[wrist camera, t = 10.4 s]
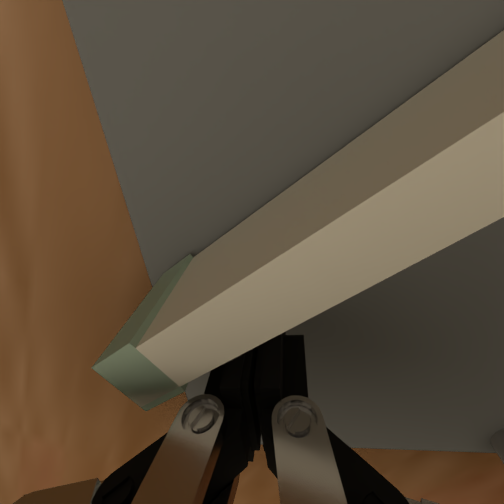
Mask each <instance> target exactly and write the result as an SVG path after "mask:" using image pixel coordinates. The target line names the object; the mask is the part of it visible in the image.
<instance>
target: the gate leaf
mask: <svg viewBox="0 0 504 504" xmlns="http://www.w3.org/2000/svg"><path fill="white" fill-rule="evenodd" d="M503 217H504V30H503V31H502V32H500V33H499V34H498V35H496V36H495V37H494V38H492V39H491V40H490V41H488V42H487V43H485V44H484V45H483V46H481V47H480V48H479V49H477V50H476V51H475V52H473V53H472V54H470V55H469V56H468V57H466V58H465V59H464V60H462V61H461V62H459V63H458V64H457V65H455V66H454V67H453V68H451V69H450V70H449V71H447V72H446V73H444V74H443V75H442V76H440V77H439V78H438V79H436V80H435V81H434V82H432V83H431V84H429V85H428V86H427V87H425V88H424V89H423V90H421V91H420V92H419V93H417V94H416V95H414V96H413V97H412V98H410V99H409V100H408V101H406V102H405V103H404V104H402V105H401V106H399V107H398V108H397V109H395V110H394V111H393V112H391V113H390V114H388V115H387V116H386V117H384V118H383V119H382V120H380V121H379V122H378V123H376V124H375V125H373V126H372V127H371V128H369V129H368V130H367V131H365V132H364V133H363V134H361V135H360V136H358V137H357V138H356V139H354V140H353V141H352V142H350V143H349V144H348V145H346V146H345V147H343V148H342V149H341V150H339V151H338V152H337V153H335V154H334V155H333V156H331V157H330V158H328V159H327V160H326V161H324V162H323V163H322V164H320V165H319V166H317V167H316V168H315V169H313V170H312V171H311V172H309V173H308V174H307V175H305V176H304V177H302V178H301V179H300V180H298V181H297V182H296V183H294V184H293V185H292V186H290V187H289V188H287V189H286V190H285V191H283V192H282V193H281V194H279V195H278V196H277V197H275V198H274V199H272V200H271V201H270V202H268V203H267V204H266V205H264V206H263V207H262V208H260V209H259V210H257V211H256V212H255V213H253V214H252V215H251V216H249V217H248V218H247V219H245V220H244V221H242V222H241V223H240V224H238V225H237V226H236V227H234V228H233V229H231V230H230V231H229V232H227V233H226V234H225V235H223V236H222V237H221V238H219V239H218V240H216V241H215V242H214V243H212V244H211V245H210V246H208V247H207V248H206V249H204V250H203V251H201V252H200V253H199V254H197V255H196V256H195V257H193V256H192V255H191V254H189V255H188V256H186V257H185V258H184V259H182V260H181V261H180V262H178V263H177V264H176V265H174V266H173V267H172V268H170V269H169V270H168V271H166V272H165V273H163V275H162V276H161V277H160V279H159V280H158V281H157V283H156V284H155V285H154V286H153V288H152V289H151V290H150V292H149V293H148V294H147V296H146V297H145V298H144V300H143V301H142V302H141V304H140V305H139V306H138V307H137V309H136V310H135V311H134V313H133V314H132V315H131V317H130V318H129V319H128V321H127V322H126V323H125V325H124V326H123V327H122V329H121V330H120V331H119V332H118V334H117V335H116V336H115V338H114V339H113V340H112V342H111V343H110V344H109V346H108V347H107V348H106V350H105V351H104V352H103V353H102V355H101V356H100V357H99V359H98V360H97V361H96V363H95V364H94V365H93V367H92V369H93V370H95V371H96V372H97V373H98V374H100V375H101V376H102V377H103V378H105V379H106V380H107V381H108V382H110V383H111V384H112V385H113V386H115V387H116V388H117V389H118V390H120V391H121V392H122V393H124V394H125V395H126V396H127V397H129V398H130V399H131V400H132V401H134V402H135V403H136V404H137V405H139V406H140V407H141V408H142V409H144V410H145V411H148V410H150V409H151V408H153V407H155V406H157V405H159V404H161V403H163V402H165V401H167V400H169V399H171V398H173V397H175V396H177V395H179V394H181V393H183V392H185V390H186V387H187V384H188V382H190V381H192V380H194V379H196V378H198V377H200V376H201V375H203V374H205V373H207V372H209V371H211V370H213V369H215V368H217V367H219V366H220V365H222V364H224V363H226V362H228V361H230V360H232V359H234V358H236V357H238V356H240V355H241V354H243V353H245V352H247V351H249V350H251V349H253V348H255V347H257V346H259V345H261V344H262V343H264V342H266V341H268V340H270V339H272V338H274V337H276V336H278V335H280V334H282V333H283V332H285V331H287V330H289V329H291V328H293V327H295V326H297V325H299V324H301V323H303V322H304V321H306V320H308V319H310V318H312V317H314V316H316V315H318V314H320V313H322V312H324V311H325V310H327V309H329V308H331V307H333V306H335V305H337V304H339V303H341V302H343V301H344V300H346V299H348V298H350V297H352V296H354V295H356V294H358V293H360V292H362V291H364V290H365V289H367V288H369V287H371V286H373V285H375V284H377V283H379V282H381V281H383V280H385V279H386V278H388V277H390V276H392V275H394V274H396V273H398V272H400V271H402V270H404V269H406V268H407V267H409V266H411V265H413V264H415V263H417V262H419V261H421V260H423V259H425V258H427V257H428V256H430V255H432V254H434V253H436V252H438V251H440V250H442V249H444V248H446V247H447V246H449V245H451V244H453V243H455V242H457V241H459V240H461V239H463V238H465V237H467V236H468V235H470V234H472V233H474V232H476V231H478V230H480V229H482V228H484V227H486V226H488V225H489V224H491V223H493V222H495V221H497V220H499V219H501V218H503Z"/></svg>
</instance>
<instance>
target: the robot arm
mask: <svg viewBox="0 0 504 504" xmlns="http://www.w3.org/2000/svg"><path fill="white" fill-rule="evenodd" d="M261 435H262V441H263V447H264V451H265V453H266V459H267V465H268V468H269V469H270V470H271V471H272V473H273V474H274V475H275V476H276V478H277V479H278V486H279V496H280V504H438V503H435V502H432V501H429V500H425V499H422V498H421V501H420V502H419V501H416V500H413V499H409V498H406V497H404V496H403V495H402V494H401V493H400V491H399V490H398V489H397V488H395V487H394V486H393V485H392V484H391V483H390V482H389V481H387V480H386V479H385V478H384V477H383V476H382V475H381V474H380V473H378V472H377V471H376V470H375V469H374V468H373V467H372V466H370V465H369V464H368V463H367V462H366V461H365V460H364V459H362V458H361V457H360V456H359V455H358V454H357V453H356V452H354V451H353V450H352V449H351V448H350V447H349V446H348V445H346V444H345V443H344V442H343V441H342V440H341V439H340V438H339V437H337V436H336V435H335V434H334V433H333V432H332V431H331V430H329V429H328V428H327V427H326V425H325V422H324V418H323V415H322V413H321V410H320V408H319V407H318V406H317V405H316V403H315V402H313V401H312V400H310V399H309V398H308V387H307V373H306V360H305V346H304V335H286V332H283V333H282V334H280V335H278V336H276V337H274V338H272V339H270V340H268V341H266V342H264V343H262V344H261V345H259V346H257V347H255V348H253V349H251V350H249V351H247V352H245V353H243V354H241V355H240V356H238V357H236V358H234V359H232V360H230V361H228V362H226V363H224V364H222V365H220V366H219V367H217V368H215V369H213V370H211V371H210V375H209V378H208V381H207V385H206V388H205V392H204V394H202V395H198V396H195V397H193V398H191V399H190V400H188V401H187V402H186V403H185V404H184V405H183V406H182V407H181V409H180V410H179V412H178V414H177V416H176V418H175V420H174V422H173V423H172V425H171V427H170V429H169V431H168V433H166V434H165V435H164V436H162V437H161V438H159V439H158V440H157V441H155V442H154V443H153V444H151V445H150V446H149V447H147V448H146V449H144V450H143V451H142V452H140V453H139V454H138V455H136V456H135V457H134V458H132V459H131V460H129V461H128V462H127V463H125V464H124V465H123V466H121V467H120V468H118V469H117V470H116V471H114V472H113V473H112V474H111V475H110V476H108V477H107V478H106V479H105V480H103V481H99V479H98V478H95V479H90V480H85V481H81V482H76V483H71V484H67V485H62V486H57V487H53V488H48V489H43V490H39V491H34V492H31V493H29V494H26V495H24V496H23V497H21V498H20V499H18V500H17V501H16V502H14V503H13V504H233V502H234V498H235V494H236V491H237V487H238V483H239V476H240V473H241V472H242V471H243V470H244V469H245V468H246V467H247V466H248V461H253V458H254V450H260V444H261Z"/></svg>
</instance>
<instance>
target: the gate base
mask: <svg viewBox="0 0 504 504" xmlns="http://www.w3.org/2000/svg"><path fill="white" fill-rule="evenodd" d="M62 1H63V4H64V7H65V10H66V13H67V16H68V20H69V23H70V26H71V29H72V32H73V36H74V39H75V42H76V45H77V48H78V52H79V55H80V58H81V61H82V64H83V68H84V71H85V74H86V77H87V80H88V83H89V87H90V90H91V93H92V96H93V99H94V103H95V106H96V109H97V112H98V115H99V119H100V122H101V125H102V128H103V131H104V134H105V138H106V141H107V144H108V147H109V150H110V154H111V157H112V160H113V163H114V166H115V170H116V173H117V176H118V179H119V182H120V185H121V189H122V192H123V195H124V198H125V201H126V205H127V208H128V211H129V214H130V217H131V221H132V224H133V227H134V230H135V233H136V236H137V240H138V243H139V246H140V249H141V252H142V256H143V259H144V262H145V265H146V268H147V272H148V275H149V278H150V281H151V284H152V287H153V286H154V285H155V284H156V283H157V281H158V280H159V279H160V277H161V276H162V275H163V273H165V272H166V271H168V270H169V269H170V268H172V267H173V266H174V265H176V264H177V263H178V262H180V261H181V260H182V259H184V258H185V257H186V256H188V255H189V254H191V255H192V256H193V257H195V256H196V255H197V254H199V253H200V252H201V251H203V250H204V249H206V248H207V247H208V246H210V245H211V244H212V243H214V242H215V241H216V240H218V239H219V238H221V237H222V236H223V235H225V234H226V233H227V232H229V231H230V230H231V229H233V228H234V227H236V226H237V225H238V224H240V223H241V222H242V221H244V220H245V219H247V218H248V217H249V216H251V215H252V214H253V213H255V212H256V211H257V210H259V209H260V208H262V207H263V206H264V205H266V204H267V203H268V202H270V201H271V200H272V199H274V198H275V197H277V196H278V195H279V194H281V193H282V192H283V191H285V190H286V189H287V188H289V187H290V186H292V185H293V184H294V183H296V182H297V181H298V180H300V179H301V178H302V177H304V176H305V175H307V174H308V173H309V172H311V171H312V170H313V169H315V168H316V167H317V166H319V165H320V164H322V163H323V162H324V161H326V160H327V159H328V158H330V157H331V156H333V155H334V154H335V153H337V152H338V151H339V150H341V149H342V148H343V147H345V146H346V145H348V144H349V143H350V142H352V141H353V140H354V139H356V138H357V137H358V136H360V135H361V134H363V133H364V132H365V131H367V130H368V129H369V128H371V127H372V126H373V125H375V124H376V123H378V122H379V121H380V120H382V119H383V118H384V117H386V116H387V115H388V114H390V113H391V112H393V111H394V110H395V109H397V108H398V107H399V106H401V105H402V104H404V103H405V102H406V101H408V100H409V99H410V98H412V97H413V96H414V95H416V94H417V93H419V92H420V91H421V90H423V89H424V88H425V87H427V86H428V85H429V84H431V83H432V82H434V81H435V80H436V79H438V78H439V77H440V76H442V75H443V74H444V73H446V72H447V71H449V70H450V69H451V68H453V67H454V66H455V65H457V64H458V63H459V62H461V61H462V60H464V59H465V58H466V57H468V56H469V55H470V54H472V53H473V52H475V51H476V50H477V49H479V48H480V47H481V46H483V45H484V44H485V43H487V42H488V41H490V40H491V39H492V38H494V37H495V36H496V35H498V34H499V33H500V32H502V31H503V30H504V0H62ZM285 332H286V335H304V346H305V360H306V373H307V387H308V398H309V399H310V400H312V401H313V402H315V403H316V405H317V406H318V407H319V408H320V410H321V413H322V415H323V418H324V422H325V425H326V427H327V428H328V429H329V430H331V431H332V432H333V433H334V434H335V435H336V436H337V437H339V438H340V439H341V440H342V441H343V442H344V443H345V444H346V445H348V446H349V447H350V448H375V449H403V450H430V451H458V452H485V453H497V454H498V456H499V457H500V459H501V460H502V462H503V464H504V217H503V218H501V219H499V220H497V221H495V222H493V223H491V224H489V225H488V226H486V227H484V228H482V229H480V230H478V231H476V232H474V233H472V234H470V235H468V236H467V237H465V238H463V239H461V240H459V241H457V242H455V243H453V244H451V245H449V246H447V247H446V248H444V249H442V250H440V251H438V252H436V253H434V254H432V255H430V256H428V257H427V258H425V259H423V260H421V261H419V262H417V263H415V264H413V265H411V266H409V267H407V268H406V269H404V270H402V271H400V272H398V273H396V274H394V275H392V276H390V277H388V278H386V279H385V280H383V281H381V282H379V283H377V284H375V285H373V286H371V287H369V288H367V289H365V290H364V291H362V292H360V293H358V294H356V295H354V296H352V297H350V298H348V299H346V300H344V301H343V302H341V303H339V304H337V305H335V306H333V307H331V308H329V309H327V310H325V311H324V312H322V313H320V314H318V315H316V316H314V317H312V318H310V319H308V320H306V321H304V322H303V323H301V324H299V325H297V326H295V327H293V328H291V329H289V330H287V331H285ZM209 375H210V371H209V372H207V373H205V374H203V375H201V376H200V377H198V378H196V379H194V380H192V381H190V382H188V384H187V387H186V390H185V393H186V396H187V399H188V400H190V399H191V398H193V397H195V396H198V395H202V394H204V392H205V388H206V385H207V381H208V378H209ZM261 444H263V441H262V435H261Z"/></svg>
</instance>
